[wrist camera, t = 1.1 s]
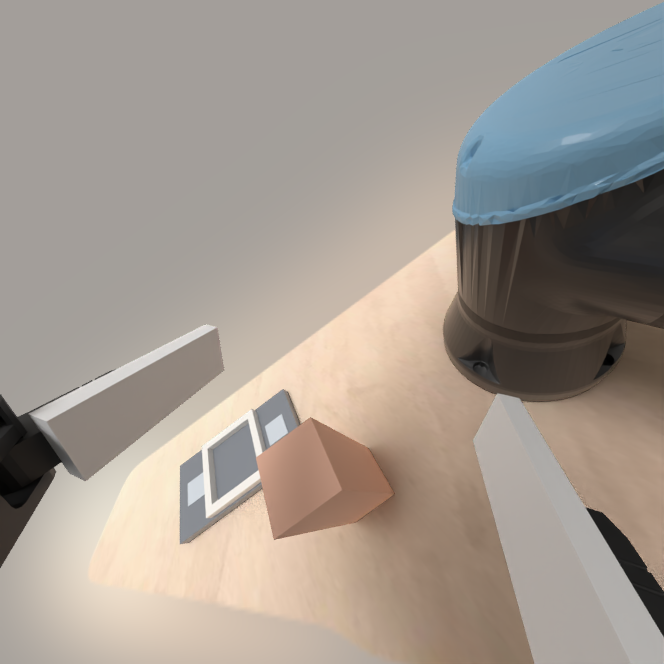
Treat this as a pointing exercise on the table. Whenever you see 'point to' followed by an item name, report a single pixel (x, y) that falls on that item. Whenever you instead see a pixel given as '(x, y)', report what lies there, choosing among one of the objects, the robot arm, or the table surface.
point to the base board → (230, 465)
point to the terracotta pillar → (319, 480)
